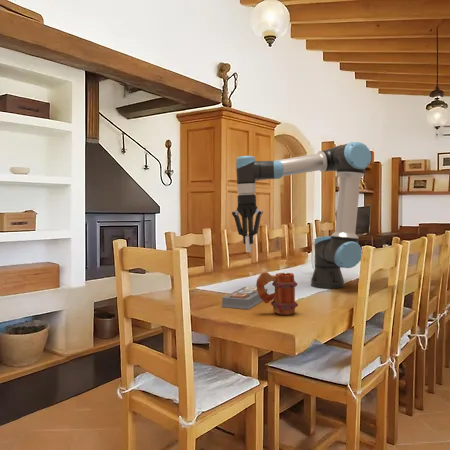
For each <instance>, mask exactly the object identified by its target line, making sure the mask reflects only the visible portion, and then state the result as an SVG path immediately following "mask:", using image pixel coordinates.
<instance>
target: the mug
mask: <svg viewBox="0 0 450 450" xmlns="http://www.w3.org/2000/svg"><path fill="white" fill-rule="evenodd" d="M270 282H272V283H271V284H272V286H273V287H274V292H272V293H268V292H267V293H266V292H265V289H266V288H265V286H266V285H267V284H269V283H270ZM255 285H256V288H257V291H258V295H259V296H260V298H261V299H262V300H263V301H262V302H264V303H265V304H269V303H270V302H271V303H270V305H271V306H272V310H273V312H274V313H276V314H278V315H281V316H290V315H293V314H294V313H295V311H296V308H297V307H299V304H298V303H297V302H296V298H295V297H296V296H295V295H296V294H295V293H296V287H297V286H298V282H297V281H296V280H295V275H294V273H292V272H286V273H285V272H278V273H275V275H273V274H270V273H269V272H268V271H263V272H261V273H260V274H259V276H258V278H257V279H256V284H255Z"/></svg>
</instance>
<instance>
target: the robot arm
mask: <svg viewBox="0 0 450 450" xmlns="http://www.w3.org/2000/svg"><path fill="white" fill-rule="evenodd" d="M371 161H372V154H371V150H370V149H369V147H368V146H367V144H365V143H363V142H359V141H356V142H355V141H352V142H349V143H345V144H340V145H337V146H334V147H331V148H328V149H325V150H319V151H318V152H317V153H313V154H308V155H307V154H306V155H300V156H294V157H290V158H289V157H288V158H284V159H282V158H281V159H275V160H256V159H255V156H253V155H241V156H238V157H237V158H236V164H235V171H236V189H237V190H236V194H238V195H237V198H236V199H237V206H236V209H235V210H234V211H232V212H231V215H232V216H233V218H234V221H235V225H236V226H235V227H236V229H237V233H238V235H240V236H242V240H243V241H242V243H243V245H245V253H252V245H253V244H254V236H256V235H258V232H259V227H260V222H261V217H262V215H263V213H264V212H263V211H262V210H260V209H258V206H257V196H256V190H257V189H256V182H258V181H264V180H279V179H281V178H283V177H287V176H294V175H300V174H304V173H312V172H316V171H317V172H318V171H320V172H321V173H324V172H336V174H337V175H338V177H339V184H338V185H339V187H338V196H337V197H338V198H337V206H336V207H337V208H336V209H337V210H336V216H335V217H336V218H335V227H334V228H335V230H334V232H333V233H332V234H330V235H329V236H328V235H326V236H317V237H316V238H315V239H314V271H313V274H312V277H311V279H310V286H312V287H313V288H319V289H340V288H344V287H345V279H344V277H343V274H342V270H341V269H343V268H344V269H351V268H354V267H356V266H357V265H358V264H359V263H360V262H361V261H362V258H361V253H362V254H363V249H362V247H361V246H360V244H359V236H358V235H357V234H356V229H357V218H358V210H359V198H360V189H361V188H360V187H361V178H363V177H364V176H365V173H366V168H367V167H368V166H369V165H370V163H371ZM239 215H240V216H241V219H240V216H239ZM254 215H256V216H255V221H254ZM241 220H242V221H241ZM241 222H242V223H241ZM361 250H362V252H361Z"/></svg>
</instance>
